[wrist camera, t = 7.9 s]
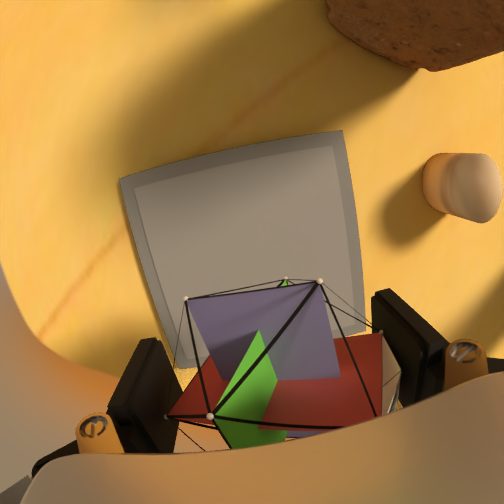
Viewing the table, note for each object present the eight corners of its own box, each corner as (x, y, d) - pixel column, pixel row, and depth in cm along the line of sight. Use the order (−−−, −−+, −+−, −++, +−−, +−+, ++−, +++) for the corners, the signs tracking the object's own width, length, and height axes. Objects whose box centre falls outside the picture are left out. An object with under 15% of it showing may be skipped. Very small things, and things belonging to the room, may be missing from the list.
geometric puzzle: (180, 442, 11) (305, 559, 5) (101, 317, 10) (210, 459, 3) (292, 359, 15) (433, 409, 9) (253, 237, 13) (435, 241, 7)
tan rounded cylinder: (460, 151, 20) (499, 152, 16) (466, 207, 22) (503, 217, 17) (418, 155, 21) (456, 155, 16) (424, 216, 22) (462, 228, 17)
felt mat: (339, 131, 20) (342, 130, 19) (363, 327, 24) (366, 331, 24) (121, 178, 20) (118, 178, 19) (180, 365, 24) (179, 370, 24)
